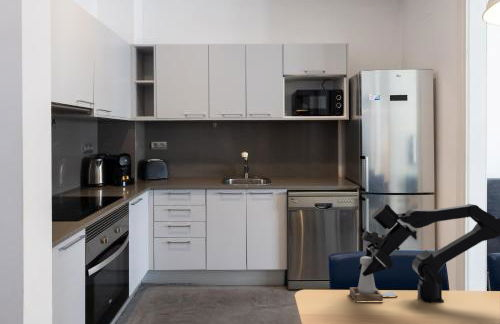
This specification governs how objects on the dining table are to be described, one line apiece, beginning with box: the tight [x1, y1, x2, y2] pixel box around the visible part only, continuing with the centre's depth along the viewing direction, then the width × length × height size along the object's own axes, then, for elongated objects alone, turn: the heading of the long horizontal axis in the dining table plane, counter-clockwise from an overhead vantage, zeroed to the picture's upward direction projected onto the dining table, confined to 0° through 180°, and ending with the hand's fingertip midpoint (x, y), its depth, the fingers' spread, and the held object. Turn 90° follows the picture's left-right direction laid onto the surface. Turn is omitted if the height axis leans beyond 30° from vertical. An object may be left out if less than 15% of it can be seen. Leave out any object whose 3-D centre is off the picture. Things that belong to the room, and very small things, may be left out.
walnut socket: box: [349, 287, 384, 303], centre depth 143 cm, size 9×9×2 cm
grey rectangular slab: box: [382, 291, 398, 297], centre depth 145 cm, size 7×5×1 cm
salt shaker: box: [357, 255, 376, 295], centre depth 143 cm, size 6×6×13 cm
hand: (361, 271), depth 143 cm, fingers open, 9 cm apart
